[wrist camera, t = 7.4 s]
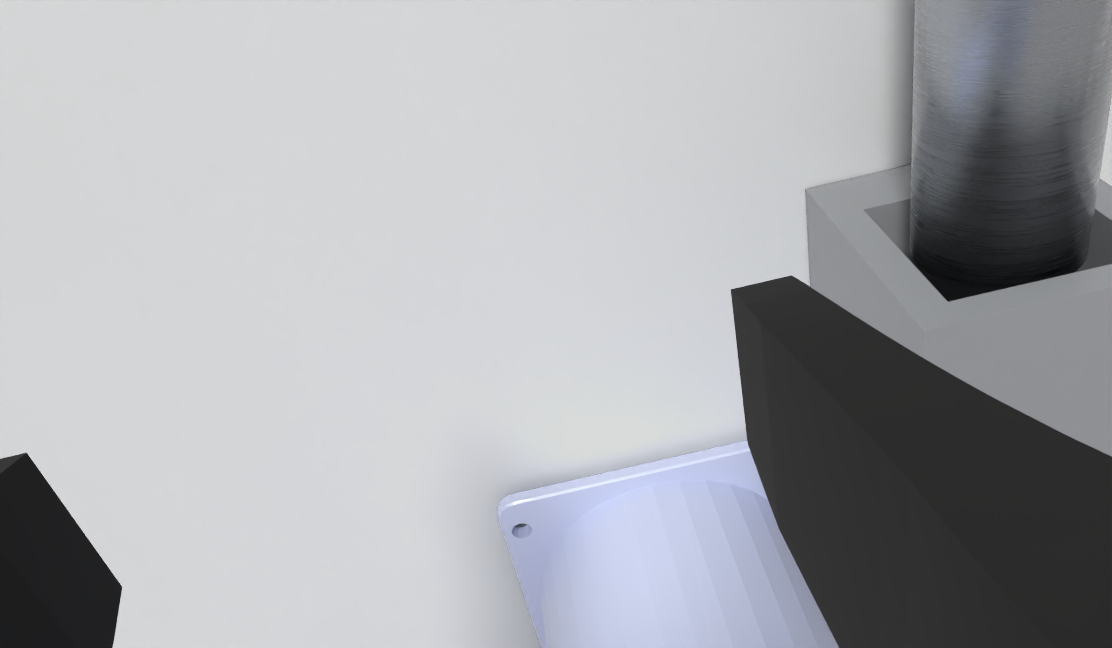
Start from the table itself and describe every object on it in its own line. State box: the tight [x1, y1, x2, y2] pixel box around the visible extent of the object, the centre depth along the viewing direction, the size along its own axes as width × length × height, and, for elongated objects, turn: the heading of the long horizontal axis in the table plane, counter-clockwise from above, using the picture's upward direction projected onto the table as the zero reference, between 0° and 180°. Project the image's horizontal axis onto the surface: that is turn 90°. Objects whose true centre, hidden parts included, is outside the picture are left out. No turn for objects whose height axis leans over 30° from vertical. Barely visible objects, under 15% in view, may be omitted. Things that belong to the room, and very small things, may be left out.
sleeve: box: [805, 165, 1112, 456], centre depth 19 cm, size 6×5×6 cm
